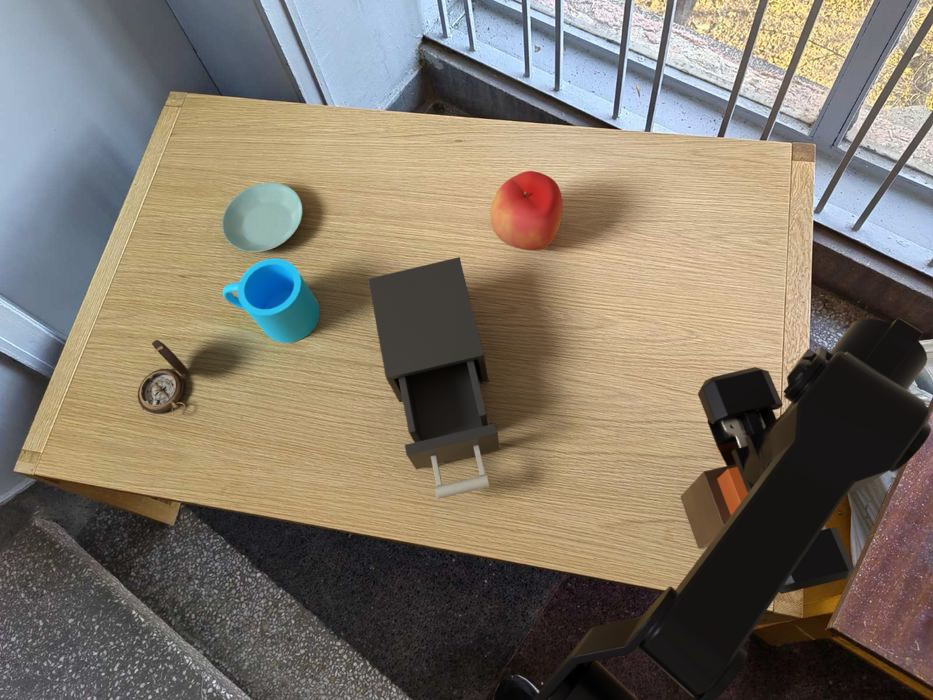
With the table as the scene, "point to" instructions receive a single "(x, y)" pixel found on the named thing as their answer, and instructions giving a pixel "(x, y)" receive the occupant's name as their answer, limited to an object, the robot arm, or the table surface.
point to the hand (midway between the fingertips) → (743, 494)
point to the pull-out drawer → (448, 423)
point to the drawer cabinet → (425, 321)
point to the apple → (527, 211)
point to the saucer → (262, 217)
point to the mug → (276, 300)
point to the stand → (706, 506)
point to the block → (732, 488)
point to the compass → (164, 384)
